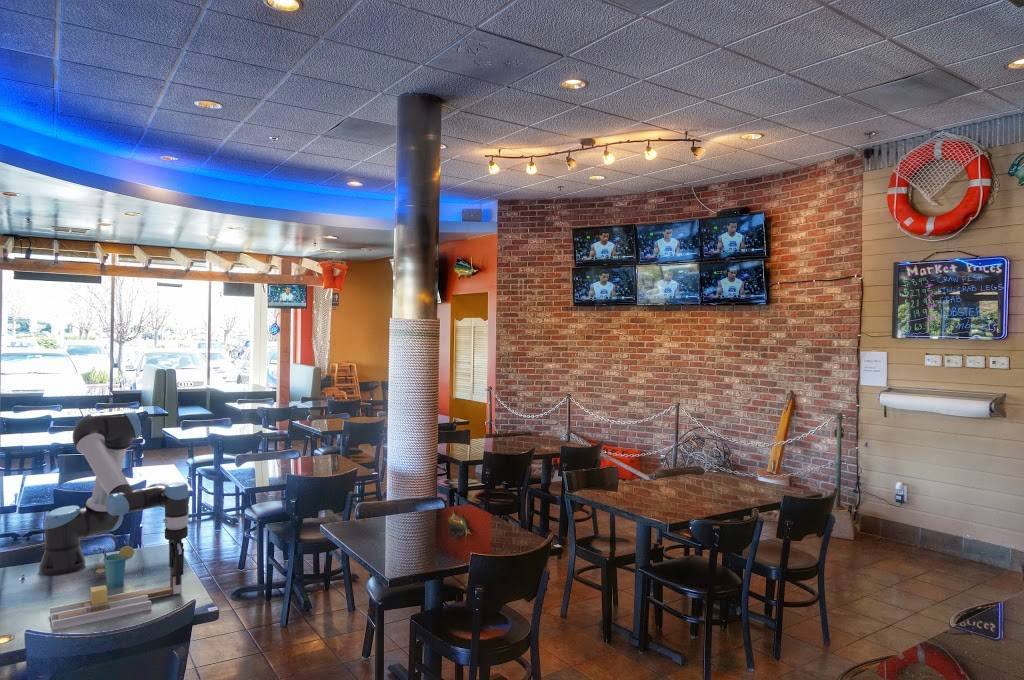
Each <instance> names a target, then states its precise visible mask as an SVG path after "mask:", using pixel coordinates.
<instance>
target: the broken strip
mask: <svg viewBox="0 0 1024 680" xmlns="http://www.w3.org/2000/svg"><path fill="white" fill-rule="evenodd" d="M108 609H110V606H109V604H107V605H102V606H97V607H92V608H91V613H93V612H98V611H103V610H108ZM83 614H88V613H87V610H86V609H82V610H77V611H72V612H67V613H62V614H57V620H59V619H64V618H69V617H74V616H79V615H83Z"/></svg>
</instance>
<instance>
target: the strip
mask: <svg viewBox="0 0 1024 680" xmlns="http://www.w3.org/2000/svg"><path fill="white" fill-rule="evenodd" d="M169 570H170V575H169V576H170V577H169V580H170V581H169V582H170V583H169V584H170V585H165V586H161V587H155V588H151V589H145V590H144V591H139V592H134V593H129V594H124V595H119V596H114V597H109V598H107V602H106V603H109V602H114V601H119V600H124V599H129V598H134V597H139V596H143V595H148V599H152V598H157V597H162V596H167V595H171V594H173V577H172V575H174V567H172V568H170V567H169ZM101 604H104V603H101ZM97 605H99V604H97ZM89 606H94V605H92V604H91V601H88V602H83V608H84V607H89Z"/></svg>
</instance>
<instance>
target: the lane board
mask: <svg viewBox="0 0 1024 680" xmlns="http://www.w3.org/2000/svg"><path fill="white" fill-rule="evenodd" d="M144 590H146V589H145V588H143V589H138V590H132V591H127V592H123V593H117V594H111V595H107V598H109V597H114V596H119V595H124V594H129V593H134V592H139V591H144ZM88 601H90V599H87V600H81V601H77V602H71V603H66V604H61V605H55V606H50V607H49V617H50V623H51V627H52V631H56V630H62V629H66V628H71V627H75V626H76V627H77V626H79V625H80V626H81V625H85V624H90V623H95V622H98V621H104V620H109V619H113V618H119V617H123V616H126V615H127V616H128V615H132V614H137V613H141V612H142V613H143V612H146V611H150V610H152V600H149V598H148V595H143V596H139V597H134V598H129V599H124V600H119V601H114V602H109V603H104V604H99V605H94V606H89V607H84V608H83V602H88ZM107 604H109V606H110V609H108V610H103V611H98V612H93V613H91V608H92V607H97V606H102V605H107ZM82 609H86V610H87V613H88V614H83V615H79V616H74V617H69V618H64V619H59V620H57V614H62V613H67V612H72V611H77V610H82Z"/></svg>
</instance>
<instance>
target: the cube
mask: <svg viewBox="0 0 1024 680" xmlns="http://www.w3.org/2000/svg"><path fill="white" fill-rule="evenodd" d="M89 592H90V595H89V597H90V599H89V600H90V601H91V604H92V605H97V604H101V603H106V602H107V596H108V587H107V584H104V585H98V586H93V587H90V591H89Z"/></svg>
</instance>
